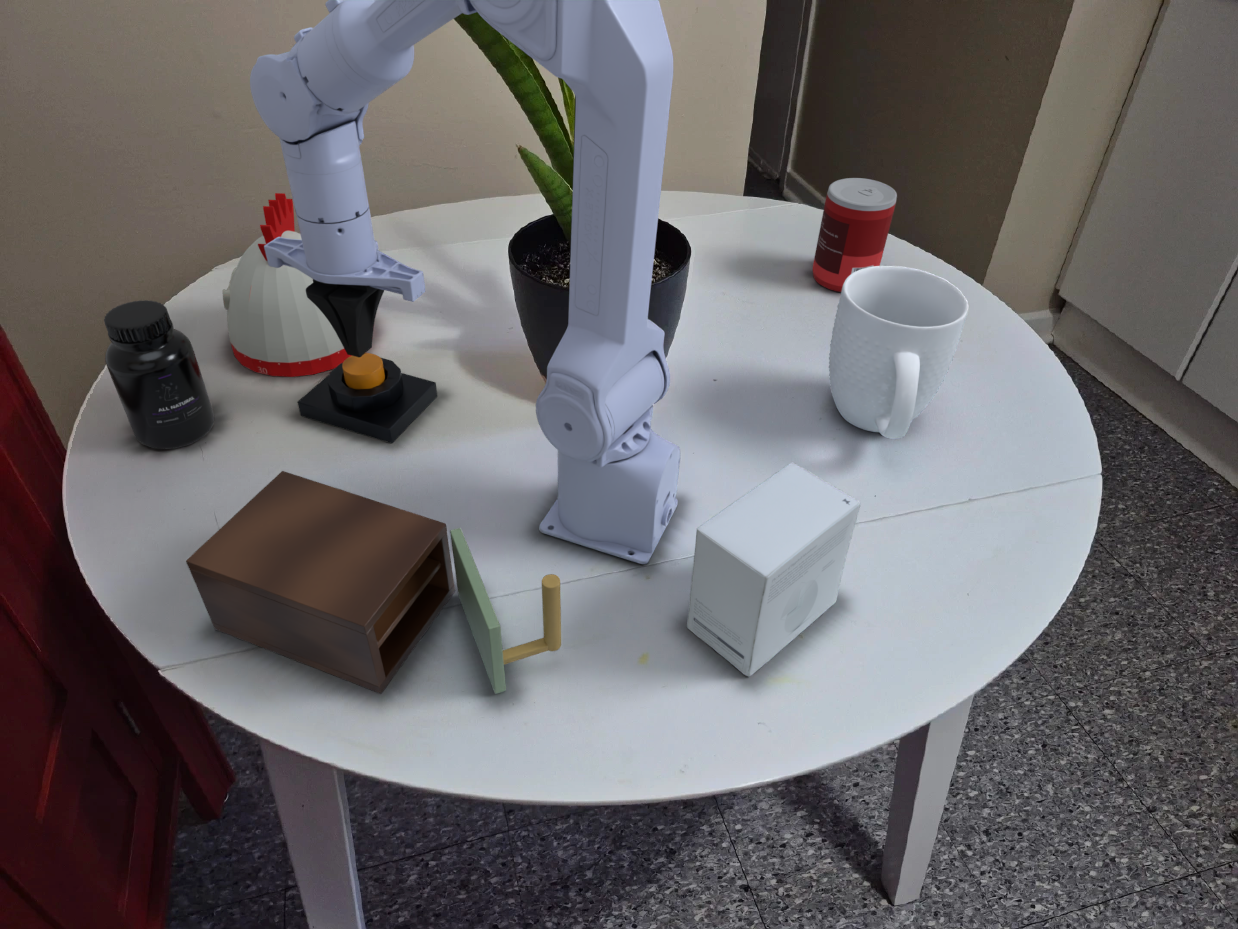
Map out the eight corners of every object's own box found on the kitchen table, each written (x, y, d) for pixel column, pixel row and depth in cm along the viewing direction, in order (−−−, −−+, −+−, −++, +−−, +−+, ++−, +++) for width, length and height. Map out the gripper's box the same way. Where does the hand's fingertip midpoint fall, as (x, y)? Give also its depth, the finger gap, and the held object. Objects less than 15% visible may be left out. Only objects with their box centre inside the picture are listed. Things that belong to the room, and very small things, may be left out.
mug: (947, 480, 77) (993, 358, 69) (823, 470, 78) (854, 347, 70) (919, 384, 89) (956, 269, 80) (811, 375, 89) (836, 259, 81)
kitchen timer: (384, 307, 97) (362, 176, 87) (352, 379, 86) (324, 238, 76) (258, 302, 96) (223, 170, 87) (212, 373, 86) (165, 232, 76)
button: (392, 373, 82) (390, 358, 81) (370, 394, 79) (367, 378, 78) (360, 364, 83) (357, 349, 81) (337, 384, 80) (334, 369, 79)
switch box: (437, 396, 84) (434, 366, 82) (392, 443, 79) (386, 413, 76) (350, 371, 87) (344, 342, 85) (300, 416, 81) (292, 385, 79)
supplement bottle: (190, 457, 76) (146, 341, 69) (119, 445, 77) (68, 330, 69) (231, 411, 82) (195, 299, 74) (165, 400, 82) (122, 288, 75)
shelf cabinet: (455, 590, 66) (446, 523, 61) (381, 694, 59) (364, 626, 54) (302, 538, 70) (282, 470, 65) (214, 629, 62) (185, 560, 58)
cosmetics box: (770, 557, 70) (792, 457, 63) (836, 603, 66) (866, 503, 59) (680, 625, 64) (693, 524, 57) (747, 680, 61) (769, 579, 54)
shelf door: (524, 576, 67) (519, 497, 61) (567, 671, 60) (566, 591, 55) (458, 595, 65) (447, 515, 60) (495, 695, 59) (486, 615, 53)
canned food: (884, 274, 106) (906, 187, 99) (861, 301, 101) (883, 211, 94) (825, 256, 109) (843, 171, 102) (801, 282, 104) (817, 194, 97)
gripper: (437, 206, 71) (452, 346, 80) (289, 174, 75) (319, 311, 84) (388, 241, 66) (410, 387, 75) (233, 205, 70) (271, 348, 79)
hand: (359, 350), depth 79 cm, fingers closed
